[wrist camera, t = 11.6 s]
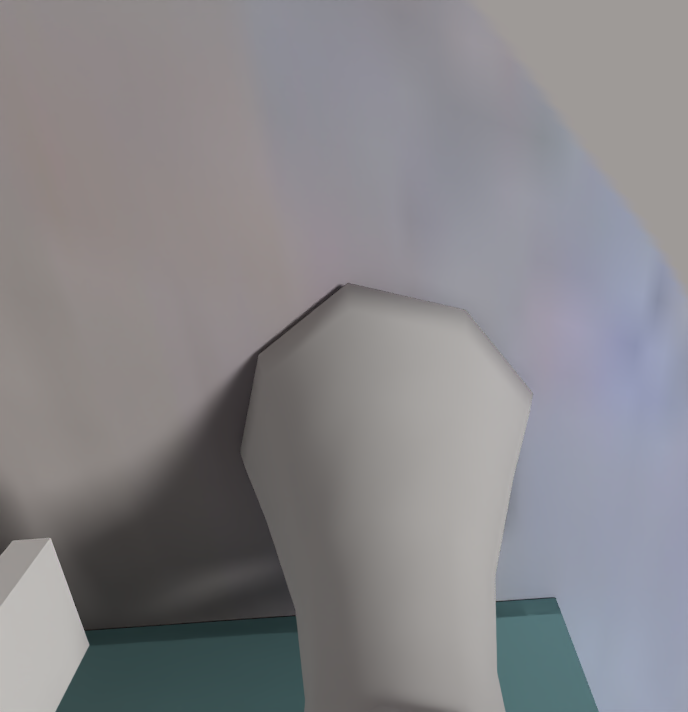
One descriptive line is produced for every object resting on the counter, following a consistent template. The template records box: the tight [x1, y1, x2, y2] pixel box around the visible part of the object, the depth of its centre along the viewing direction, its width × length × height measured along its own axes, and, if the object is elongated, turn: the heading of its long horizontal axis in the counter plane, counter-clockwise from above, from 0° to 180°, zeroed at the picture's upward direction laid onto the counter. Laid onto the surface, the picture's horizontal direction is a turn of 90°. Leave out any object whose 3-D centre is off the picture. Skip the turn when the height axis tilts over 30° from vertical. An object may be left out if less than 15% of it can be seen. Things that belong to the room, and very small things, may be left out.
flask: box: [240, 283, 533, 712], centre depth 12 cm, size 7×7×10 cm
